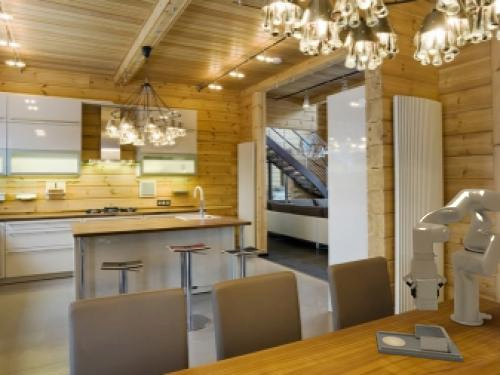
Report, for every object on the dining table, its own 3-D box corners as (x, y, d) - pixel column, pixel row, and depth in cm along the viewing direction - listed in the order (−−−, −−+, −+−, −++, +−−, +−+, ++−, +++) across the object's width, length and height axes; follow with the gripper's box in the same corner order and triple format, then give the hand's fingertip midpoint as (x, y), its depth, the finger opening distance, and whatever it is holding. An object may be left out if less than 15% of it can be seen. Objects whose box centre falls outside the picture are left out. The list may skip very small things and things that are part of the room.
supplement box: (431, 303, 154) (429, 274, 153) (438, 310, 146) (437, 279, 146) (413, 304, 154) (411, 274, 154) (419, 310, 147) (418, 280, 146)
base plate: (451, 342, 142) (451, 337, 142) (463, 362, 126) (463, 356, 126) (376, 334, 149) (376, 330, 149) (378, 352, 134) (378, 347, 134)
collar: (442, 339, 141) (442, 326, 141) (451, 353, 129) (451, 340, 129) (415, 336, 144) (415, 324, 143) (420, 350, 132) (420, 337, 132)
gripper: (444, 254, 151) (445, 295, 151) (399, 253, 155) (401, 293, 156) (448, 258, 143) (450, 301, 144) (401, 258, 148) (403, 300, 149)
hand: (425, 297), depth 150 cm, fingers closed on supplement box, 8 cm apart
